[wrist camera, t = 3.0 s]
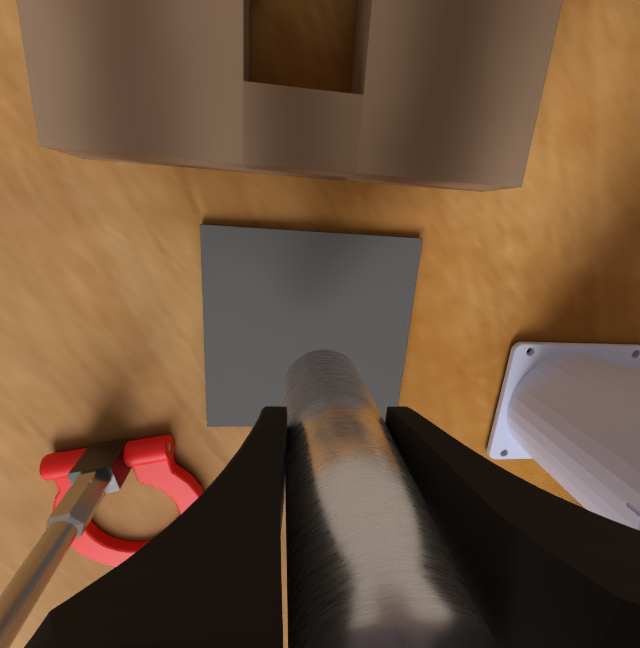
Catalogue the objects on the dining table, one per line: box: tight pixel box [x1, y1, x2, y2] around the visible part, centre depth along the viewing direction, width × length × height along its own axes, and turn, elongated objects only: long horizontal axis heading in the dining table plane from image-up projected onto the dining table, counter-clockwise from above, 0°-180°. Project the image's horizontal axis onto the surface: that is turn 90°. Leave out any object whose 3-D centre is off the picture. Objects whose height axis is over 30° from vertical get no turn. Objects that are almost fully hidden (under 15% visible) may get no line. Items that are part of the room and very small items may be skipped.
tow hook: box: [0, 435, 203, 648], centre depth 15 cm, size 8×13×9 cm
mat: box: [200, 224, 422, 427], centre depth 19 cm, size 11×11×1 cm
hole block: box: [16, 0, 563, 192], centre depth 14 cm, size 19×10×3 cm, turn 86°
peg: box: [284, 349, 498, 648], centre depth 9 cm, size 3×3×9 cm
